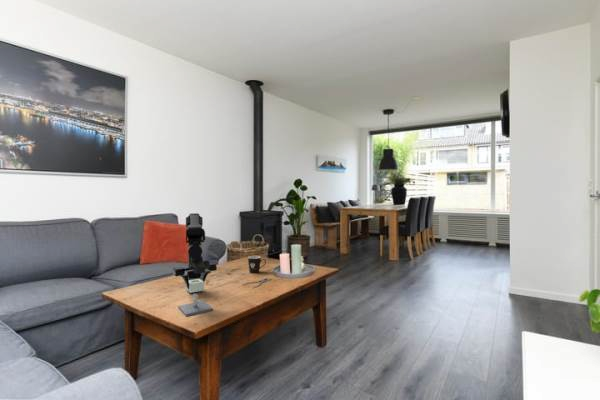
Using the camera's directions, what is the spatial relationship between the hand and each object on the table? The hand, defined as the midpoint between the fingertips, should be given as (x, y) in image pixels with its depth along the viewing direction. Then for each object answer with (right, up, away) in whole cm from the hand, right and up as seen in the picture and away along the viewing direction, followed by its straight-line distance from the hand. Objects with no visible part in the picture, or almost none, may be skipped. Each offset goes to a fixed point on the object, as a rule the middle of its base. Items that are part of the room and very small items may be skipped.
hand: (195, 287), depth 145 cm
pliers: (+22, -10, +43) cm, 49 cm away
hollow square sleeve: (0, -1, 0) cm, 1 cm away
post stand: (0, -10, 0) cm, 10 cm away
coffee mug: (+19, -8, +66) cm, 69 cm away
